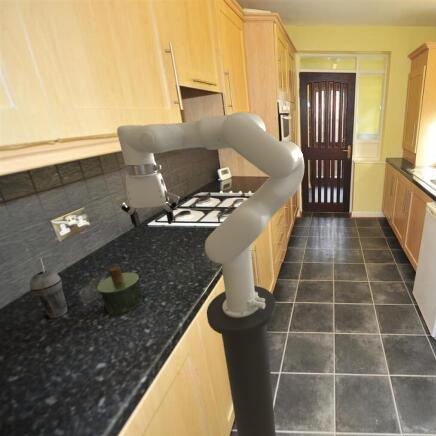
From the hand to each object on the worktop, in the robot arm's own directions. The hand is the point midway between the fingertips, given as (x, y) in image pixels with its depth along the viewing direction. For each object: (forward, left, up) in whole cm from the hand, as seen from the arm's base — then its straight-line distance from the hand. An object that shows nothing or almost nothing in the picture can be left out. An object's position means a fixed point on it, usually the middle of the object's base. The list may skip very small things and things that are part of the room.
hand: (154, 224), depth 84 cm
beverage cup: (+30, +17, -28) cm, 45 cm away
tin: (+13, +7, -28) cm, 32 cm away
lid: (+13, +7, -20) cm, 25 cm away
